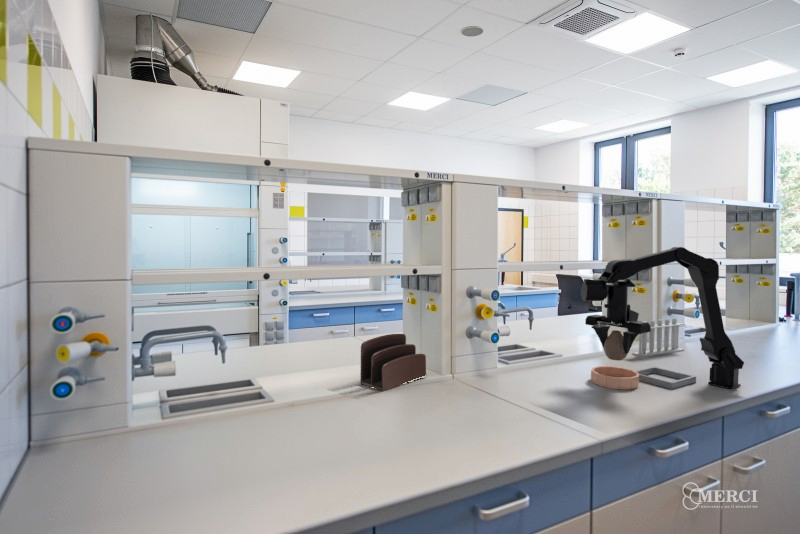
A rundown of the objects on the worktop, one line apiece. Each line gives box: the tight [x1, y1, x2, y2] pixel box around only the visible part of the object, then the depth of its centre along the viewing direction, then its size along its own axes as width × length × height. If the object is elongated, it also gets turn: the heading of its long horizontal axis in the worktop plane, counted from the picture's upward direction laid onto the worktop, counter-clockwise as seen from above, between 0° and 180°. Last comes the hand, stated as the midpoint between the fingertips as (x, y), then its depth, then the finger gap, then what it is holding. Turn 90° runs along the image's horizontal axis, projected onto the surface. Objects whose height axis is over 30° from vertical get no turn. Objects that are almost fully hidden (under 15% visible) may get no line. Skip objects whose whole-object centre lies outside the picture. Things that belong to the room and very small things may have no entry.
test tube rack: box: [632, 317, 686, 358], centre depth 190 cm, size 25×4×13 cm, turn 116°
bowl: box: [590, 365, 640, 390], centre depth 149 cm, size 13×13×3 cm
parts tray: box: [634, 366, 697, 390], centre depth 152 cm, size 14×14×2 cm
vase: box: [603, 329, 628, 361], centre depth 148 cm, size 7×7×9 cm
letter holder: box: [359, 333, 427, 392], centre depth 149 cm, size 10×20×14 cm, turn 137°
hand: (615, 351), depth 148 cm, fingers closed on vase, 7 cm apart
